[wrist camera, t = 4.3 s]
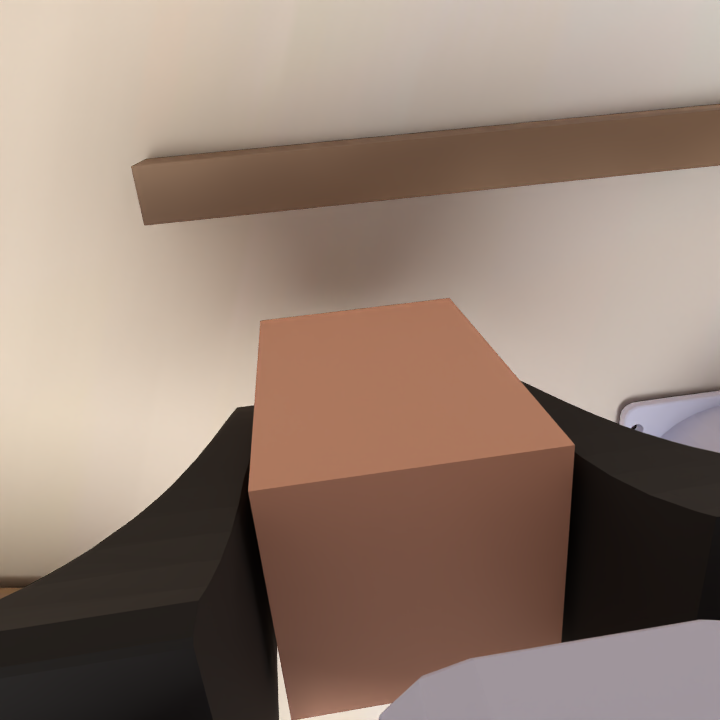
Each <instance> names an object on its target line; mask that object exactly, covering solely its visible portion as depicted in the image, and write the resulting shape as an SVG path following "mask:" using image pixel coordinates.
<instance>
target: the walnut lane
mask: <svg viewBox="0 0 720 720" xmlns="http://www.w3.org/2000/svg"><path fill="white" fill-rule="evenodd" d="M718 165H720V104H714V105H704V106H693V107H683V108H672V109H662V110H652V111H641V112H631V113H620V114H610V115H599V116H589V117H579V118H568V119H558V120H547V121H537V122H527V123H516V124H506V125H495V126H485V127H474V128H464V129H454V130H443V131H433V132H422V133H412V134H401V135H391V136H381V137H370V138H360V139H349V140H339V141H328V142H318V143H308V144H297V145H287V146H276V147H266V148H256V149H245V150H235V151H224V152H214V153H203V154H193V155H183V156H172V157H162V158H151V159H145V160H143V161H141V162H139V163H137V164H135V165H133V166H131V168H132V173H133V177H134V181H135V186H136V190H137V195H138V199H139V204H140V208H141V213H142V217H143V222H144V225H153V224H163V223H172V222H182V221H191V220H201V219H211V218H220V217H230V216H239V215H249V214H258V213H268V212H278V211H287V210H297V209H306V208H316V207H325V206H335V205H344V204H354V203H364V202H373V201H383V200H392V199H402V198H411V197H421V196H431V195H440V194H450V193H459V192H469V191H478V190H488V189H498V188H507V187H517V186H526V185H536V184H545V183H555V182H564V181H574V180H584V179H593V178H603V177H612V176H622V175H631V174H641V173H651V172H660V171H670V170H679V169H689V168H698V167H708V166H718Z"/></svg>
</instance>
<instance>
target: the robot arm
mask: <svg viewBox="0 0 720 720" xmlns="http://www.w3.org/2000/svg"><path fill="white" fill-rule="evenodd" d="M521 382H522V381H521ZM522 384H523V385H524V386H525V387H526V388H527V389H528V391H529V392H530V393H531V394H532V395H533V396H534V398H535V399H536V400H537V401H538V402H539V403H540V405H541V406H542V407H543V408H544V409H545V411H546V412H547V413H548V414H549V415H550V416H551V418H552V419H553V420H554V421H555V422H556V423H557V425H558V426H559V427H560V428H561V429H562V430H563V432H564V433H565V434H566V435H567V436H568V437H569V439H570V440H571V441H572V442H573V443H574V444H575V452H574V466H573V481H572V495H571V510H570V524H569V538H568V553H567V567H566V581H565V596H564V610H563V625H562V639H561V643H558V644H552V645H546V646H540V647H534V648H528V649H522V650H516V651H511V652H505V653H499V654H493V655H487V656H481V657H475V658H470V659H467V660H464V661H461V662H459V663H456V664H453V665H450V666H448V667H445V668H442V669H440V670H437V671H434V672H431V673H429V674H426V675H423V676H421V677H420V678H419V679H418V680H417V681H416V682H415V683H414V684H412V685H411V686H410V687H409V688H408V689H407V690H406V691H405V692H404V693H403V694H402V695H401V696H399V697H398V698H397V699H396V700H395V701H394V702H393V703H392V704H391V705H390V706H389V707H388V708H387V709H386V710H385V711H384V712H383V713H382V714H381V715H380V717H379V720H720V391H713V392H706V393H698V394H691V395H684V396H676V397H669V398H662V399H654V400H647V401H640V402H634V403H630V404H628V405H627V406H625V407H624V409H623V410H622V412H621V415H620V422H619V424H617V423H615V422H612V421H610V420H607V419H605V418H602V417H599V416H597V415H594V414H592V413H590V412H587V411H585V410H583V409H580V408H578V407H576V406H573V405H571V404H569V403H567V402H565V401H562V400H560V399H558V398H556V397H554V396H552V395H550V394H547V393H545V392H543V391H541V390H539V389H537V388H535V387H533V386H531V385H528V384H526V383H524V382H522ZM253 417H254V406H246V407H239V408H236V410H235V411H234V412H233V413H232V414H231V416H230V417H229V418H228V420H227V421H226V422H225V423H224V425H223V426H222V427H221V429H220V430H219V431H218V433H217V434H216V435H215V437H214V438H213V439H212V441H211V442H210V443H209V444H208V445H207V447H206V448H205V449H204V450H203V452H202V453H201V454H200V455H199V456H198V458H197V459H196V460H195V461H194V462H193V463H192V464H191V465H190V467H189V468H188V469H187V470H186V471H185V472H184V473H183V474H182V475H181V476H180V477H179V478H178V479H177V480H176V482H175V483H174V484H173V485H172V486H171V487H170V488H168V489H167V490H166V491H165V492H164V493H163V494H162V495H161V496H160V497H159V498H158V499H157V500H155V501H154V502H153V503H152V504H151V505H149V506H148V507H147V508H146V509H145V510H144V511H142V512H141V513H140V514H139V515H138V516H136V517H135V518H134V519H132V520H131V521H130V522H128V523H127V524H126V525H124V526H123V527H121V528H120V529H119V530H117V531H116V532H114V533H113V534H112V535H110V536H109V537H107V538H106V539H104V540H103V541H102V542H100V543H99V544H97V545H96V546H95V547H93V548H92V549H90V550H89V551H87V552H85V553H84V554H82V555H80V556H79V557H77V558H76V559H74V560H72V561H71V562H69V563H67V564H66V565H64V566H62V567H61V568H59V569H57V570H55V571H53V572H52V573H50V574H48V575H46V576H45V577H43V578H41V579H39V580H37V581H35V582H34V583H32V584H30V585H28V586H26V587H24V588H22V589H20V590H18V591H16V592H14V593H12V594H10V595H8V596H5V597H3V598H1V599H0V720H279V706H278V673H277V641H276V636H275V630H274V625H273V620H272V615H271V609H270V604H269V599H268V594H267V588H266V583H265V578H264V573H263V567H262V562H261V557H260V551H259V546H258V541H257V536H256V530H255V525H254V520H253V515H252V509H251V504H250V499H249V494H248V486H249V472H250V459H251V445H252V431H253ZM636 424H638V425H637V427H636V428H635V429H631V428H632V427H633V426H634V425H636Z"/></svg>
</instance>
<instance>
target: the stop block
mask: <svg viewBox="0 0 720 720" xmlns="http://www.w3.org/2000/svg"><path fill="white" fill-rule="evenodd" d="M574 452H575V444H574V443H573V442H572V441H571V440H570V439H569V437H568V436H567V435H566V434H565V433H564V432H563V430H562V429H561V428H560V427H559V426H558V425H557V423H556V422H555V421H554V420H553V419H552V418H551V416H550V415H549V414H548V413H547V412H546V411H545V409H544V408H543V407H542V406H541V405H540V403H539V402H538V401H537V400H536V399H535V398H534V396H533V395H532V394H531V393H530V392H529V391H528V389H527V388H526V387H525V386H524V385H523V384H522V382H521V381H520V380H519V379H518V378H517V377H516V375H515V374H514V373H513V372H512V371H511V370H510V368H509V367H508V366H507V365H506V364H505V363H504V361H503V360H502V359H501V358H500V357H499V356H498V354H497V353H496V352H495V351H494V350H493V349H492V347H491V346H490V345H489V344H488V343H487V341H486V340H485V339H484V338H483V337H482V336H481V334H480V333H479V332H478V331H477V330H476V329H475V327H474V326H473V325H472V324H471V323H470V322H469V320H468V319H467V318H466V317H465V316H464V315H463V313H462V312H461V311H460V310H459V309H458V308H457V306H456V305H455V304H454V303H453V302H452V301H451V299H450V298H446V299H438V300H429V301H421V302H412V303H404V304H396V305H387V306H379V307H371V308H362V309H354V310H346V311H337V312H329V313H321V314H312V315H304V316H296V317H287V318H279V319H271V320H262V321H260V334H259V348H258V362H257V376H256V390H255V403H254V417H253V431H252V445H251V459H250V472H249V486H248V494H249V499H250V504H251V509H252V515H253V520H254V525H255V530H256V536H257V541H258V546H259V551H260V557H261V562H262V567H263V573H264V578H265V583H266V588H267V594H268V599H269V604H270V609H271V615H272V620H273V625H274V630H275V636H276V641H277V646H278V652H279V657H280V662H281V667H282V673H283V678H284V683H285V688H286V694H287V699H288V704H289V709H290V715H291V720H297V719H303V718H309V717H314V716H320V715H326V714H332V713H337V712H343V711H349V710H355V709H361V708H366V707H372V706H378V705H384V704H389V703H393V702H394V701H395V700H396V699H397V698H398V697H399V696H401V695H402V694H403V693H404V692H405V691H406V690H407V689H408V688H409V687H410V686H411V685H412V684H414V683H415V682H416V681H417V680H418V679H419V678H420V677H421V676H423V675H426V674H429V673H431V672H434V671H437V670H440V669H442V668H445V667H448V666H450V665H453V664H456V663H459V662H461V661H464V660H467V659H470V658H475V657H481V656H487V655H493V654H499V653H505V652H511V651H516V650H522V649H528V648H534V647H540V646H546V645H552V644H558V643H561V639H562V625H563V610H564V596H565V581H566V567H567V553H568V538H569V524H570V510H571V495H572V481H573V466H574Z"/></svg>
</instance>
